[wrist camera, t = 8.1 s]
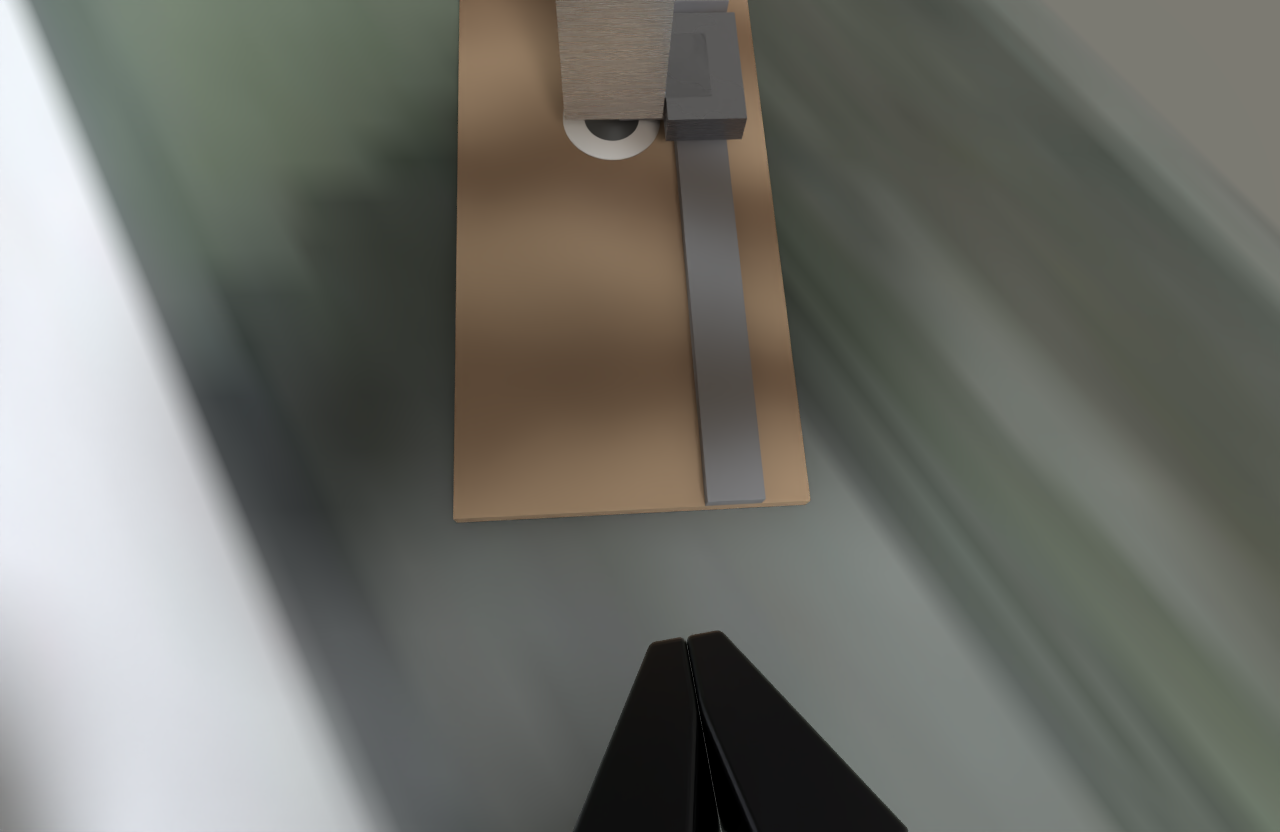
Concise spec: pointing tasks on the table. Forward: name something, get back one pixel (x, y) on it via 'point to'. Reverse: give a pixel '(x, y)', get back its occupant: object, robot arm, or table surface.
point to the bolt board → (611, 297)
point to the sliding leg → (652, 67)
